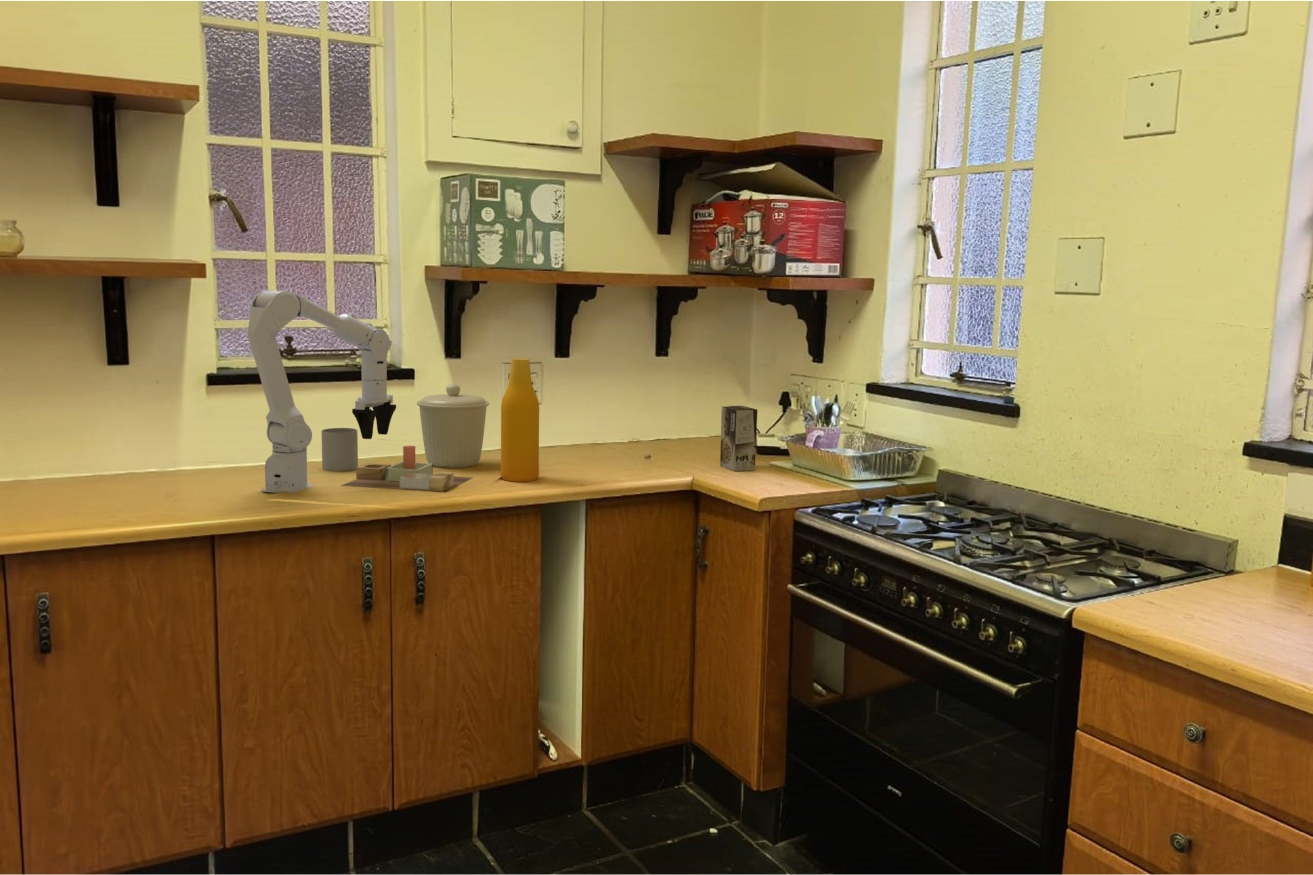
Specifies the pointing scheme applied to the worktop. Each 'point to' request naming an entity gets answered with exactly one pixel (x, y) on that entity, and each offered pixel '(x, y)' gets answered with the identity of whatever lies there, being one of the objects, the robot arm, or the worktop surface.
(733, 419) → the coffee box
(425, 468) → the tray
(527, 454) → the beer bottle
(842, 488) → the worktop surface
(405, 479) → the grey flat block
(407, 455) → the dowel
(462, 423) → the canister
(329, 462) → the cup
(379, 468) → the bench board
